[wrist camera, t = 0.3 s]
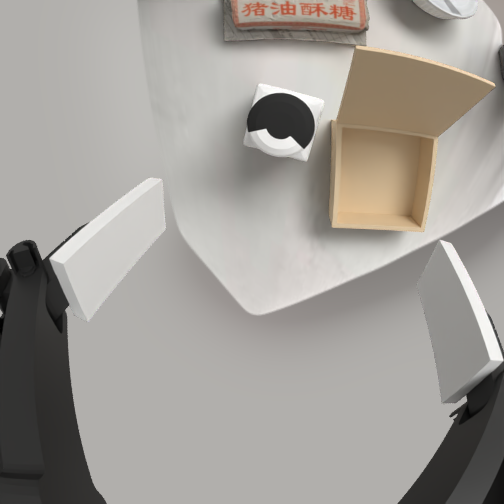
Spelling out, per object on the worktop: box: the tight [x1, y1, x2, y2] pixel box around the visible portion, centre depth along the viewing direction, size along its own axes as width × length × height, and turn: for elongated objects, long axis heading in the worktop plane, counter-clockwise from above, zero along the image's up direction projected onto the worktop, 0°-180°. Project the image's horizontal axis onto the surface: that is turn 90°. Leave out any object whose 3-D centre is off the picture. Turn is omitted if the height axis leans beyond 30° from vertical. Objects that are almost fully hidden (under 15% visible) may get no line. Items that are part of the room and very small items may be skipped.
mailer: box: [329, 45, 496, 232], centre depth 25 cm, size 20×13×16 cm, turn 3°
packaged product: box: [223, 0, 370, 46], centre depth 22 cm, size 18×5×10 cm
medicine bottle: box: [243, 84, 324, 162], centre depth 27 cm, size 7×7×12 cm
